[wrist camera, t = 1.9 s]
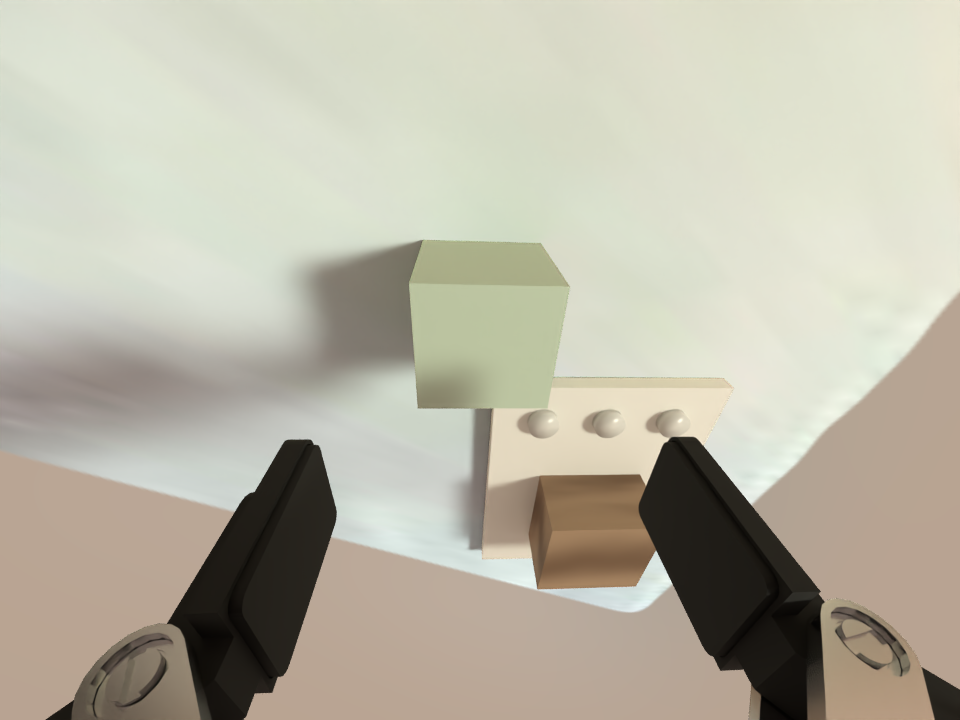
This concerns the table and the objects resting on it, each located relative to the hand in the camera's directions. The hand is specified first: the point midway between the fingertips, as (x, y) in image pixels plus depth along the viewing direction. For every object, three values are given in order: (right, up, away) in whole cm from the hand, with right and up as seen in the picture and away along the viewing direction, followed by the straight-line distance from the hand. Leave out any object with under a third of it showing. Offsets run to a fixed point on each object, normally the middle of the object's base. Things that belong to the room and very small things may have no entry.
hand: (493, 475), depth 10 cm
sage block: (0, +6, +8) cm, 11 cm away
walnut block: (+7, -8, +17) cm, 20 cm away
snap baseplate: (+7, -5, +16) cm, 19 cm away
